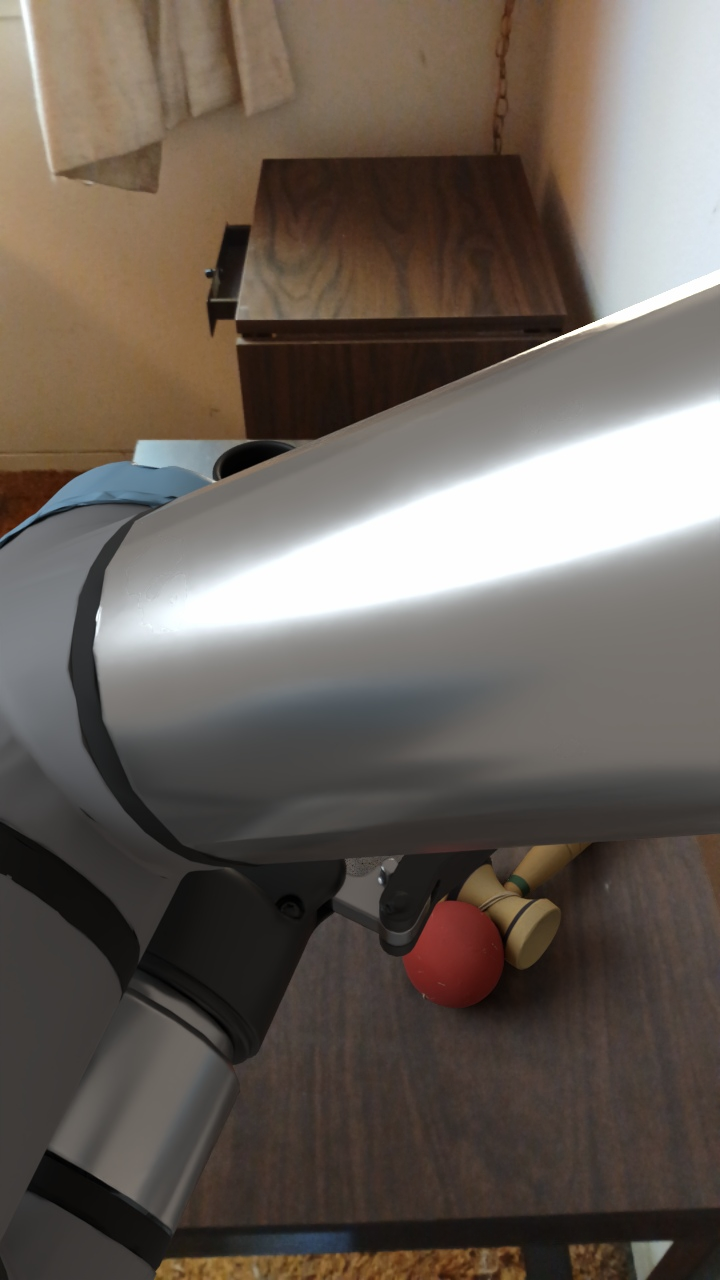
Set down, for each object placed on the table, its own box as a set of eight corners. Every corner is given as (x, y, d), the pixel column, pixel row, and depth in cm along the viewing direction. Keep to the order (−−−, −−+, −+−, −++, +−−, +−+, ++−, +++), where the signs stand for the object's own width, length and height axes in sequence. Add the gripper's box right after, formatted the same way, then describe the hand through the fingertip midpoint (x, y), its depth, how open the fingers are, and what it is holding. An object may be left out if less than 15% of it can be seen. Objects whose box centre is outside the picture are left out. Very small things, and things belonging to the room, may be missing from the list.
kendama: (529, 798, 65) (360, 954, 55) (562, 750, 61) (384, 909, 50) (613, 874, 62) (453, 1054, 52) (654, 829, 58) (487, 1016, 47)
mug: (228, 498, 89) (219, 437, 83) (319, 500, 88) (315, 438, 83) (209, 580, 80) (198, 517, 75) (309, 582, 80) (304, 519, 75)
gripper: (-147, 926, 32) (156, 560, 45) (539, 1224, 25) (653, 692, 39) (-255, 810, 26) (127, 433, 40) (583, 1151, 20) (698, 562, 33)
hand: (387, 560), depth 39 cm, fingers open, 13 cm apart
